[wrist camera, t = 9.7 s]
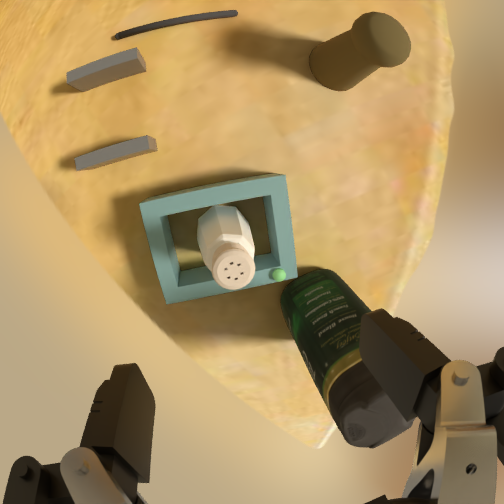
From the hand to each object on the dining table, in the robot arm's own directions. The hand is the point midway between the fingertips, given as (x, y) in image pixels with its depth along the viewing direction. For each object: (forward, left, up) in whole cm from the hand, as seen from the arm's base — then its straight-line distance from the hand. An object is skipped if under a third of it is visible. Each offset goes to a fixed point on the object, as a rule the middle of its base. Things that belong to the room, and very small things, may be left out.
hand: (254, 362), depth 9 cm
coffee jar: (+11, +9, -20) cm, 25 cm away
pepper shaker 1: (0, 0, -20) cm, 20 cm away
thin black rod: (-23, -1, -20) cm, 30 cm away
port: (0, 0, -20) cm, 20 cm away
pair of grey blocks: (-14, -8, -20) cm, 26 cm away
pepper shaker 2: (-16, +15, -20) cm, 30 cm away
